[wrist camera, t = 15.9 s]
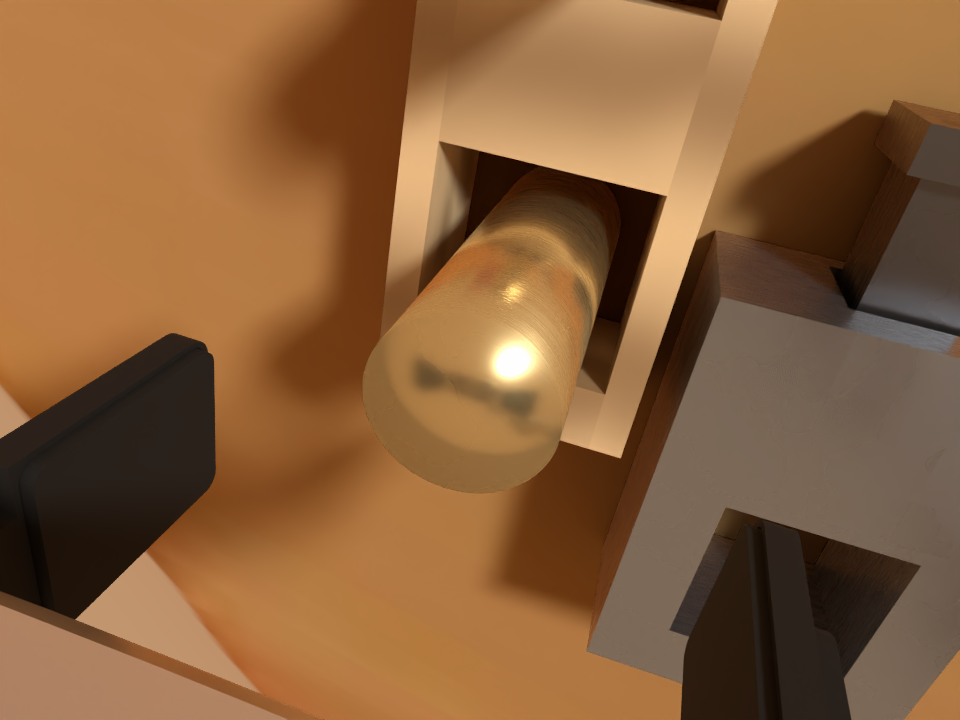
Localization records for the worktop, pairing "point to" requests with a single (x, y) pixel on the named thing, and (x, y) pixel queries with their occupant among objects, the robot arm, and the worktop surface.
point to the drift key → (912, 225)
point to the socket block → (796, 474)
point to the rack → (574, 147)
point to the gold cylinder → (497, 339)
